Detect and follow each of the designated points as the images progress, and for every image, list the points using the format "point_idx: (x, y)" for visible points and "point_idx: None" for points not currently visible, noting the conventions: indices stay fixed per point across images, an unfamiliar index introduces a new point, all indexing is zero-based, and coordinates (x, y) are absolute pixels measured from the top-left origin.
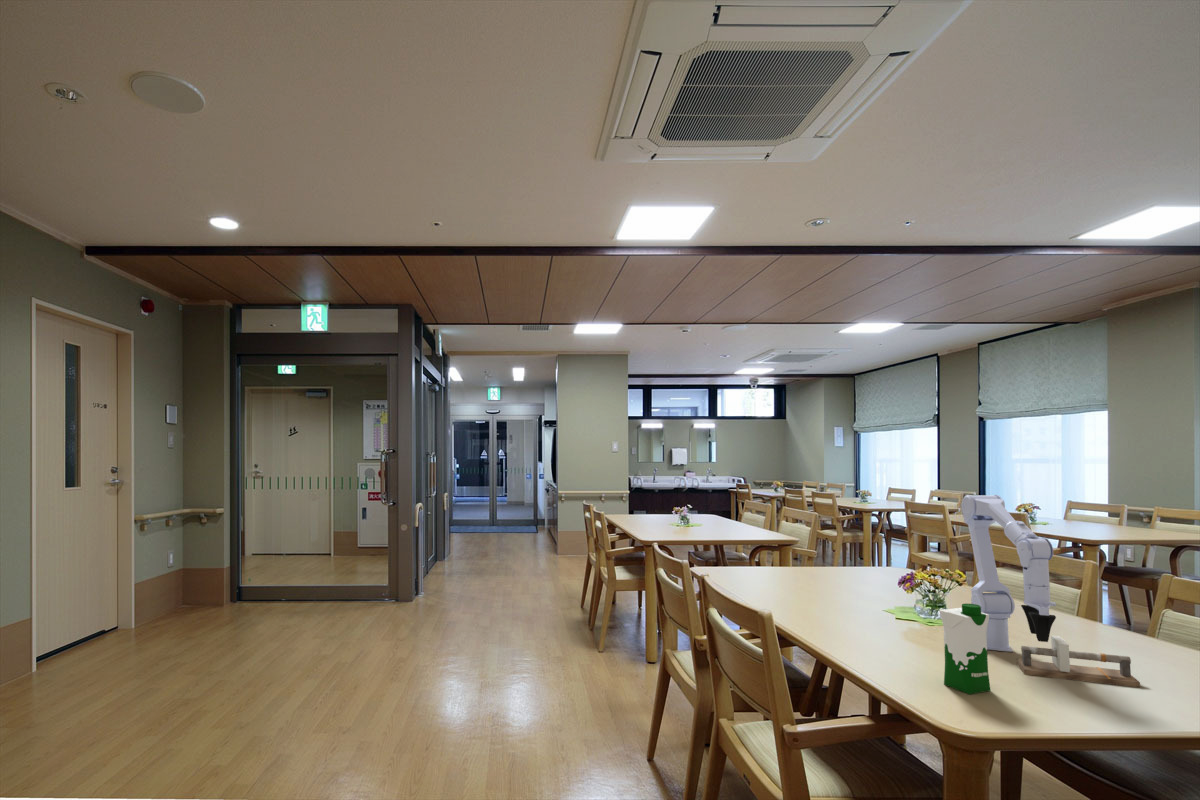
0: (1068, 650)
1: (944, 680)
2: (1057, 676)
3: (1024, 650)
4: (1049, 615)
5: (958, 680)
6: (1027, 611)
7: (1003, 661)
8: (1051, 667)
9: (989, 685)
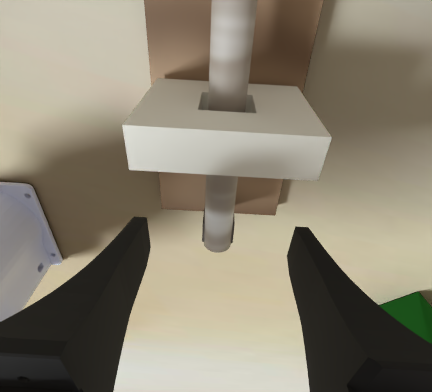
0: (322, 125)
1: None
2: None
3: (232, 239)
4: (396, 390)
5: None
6: (110, 373)
7: (157, 225)
8: None
9: (429, 304)
